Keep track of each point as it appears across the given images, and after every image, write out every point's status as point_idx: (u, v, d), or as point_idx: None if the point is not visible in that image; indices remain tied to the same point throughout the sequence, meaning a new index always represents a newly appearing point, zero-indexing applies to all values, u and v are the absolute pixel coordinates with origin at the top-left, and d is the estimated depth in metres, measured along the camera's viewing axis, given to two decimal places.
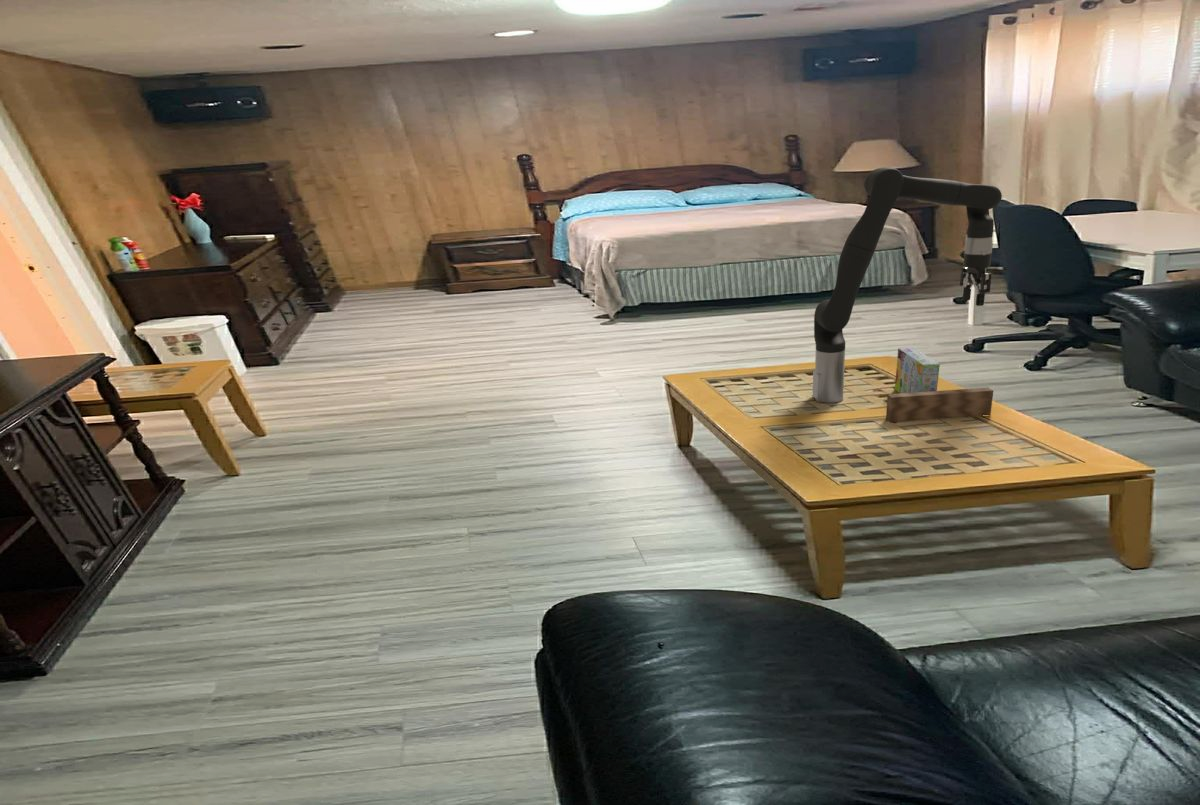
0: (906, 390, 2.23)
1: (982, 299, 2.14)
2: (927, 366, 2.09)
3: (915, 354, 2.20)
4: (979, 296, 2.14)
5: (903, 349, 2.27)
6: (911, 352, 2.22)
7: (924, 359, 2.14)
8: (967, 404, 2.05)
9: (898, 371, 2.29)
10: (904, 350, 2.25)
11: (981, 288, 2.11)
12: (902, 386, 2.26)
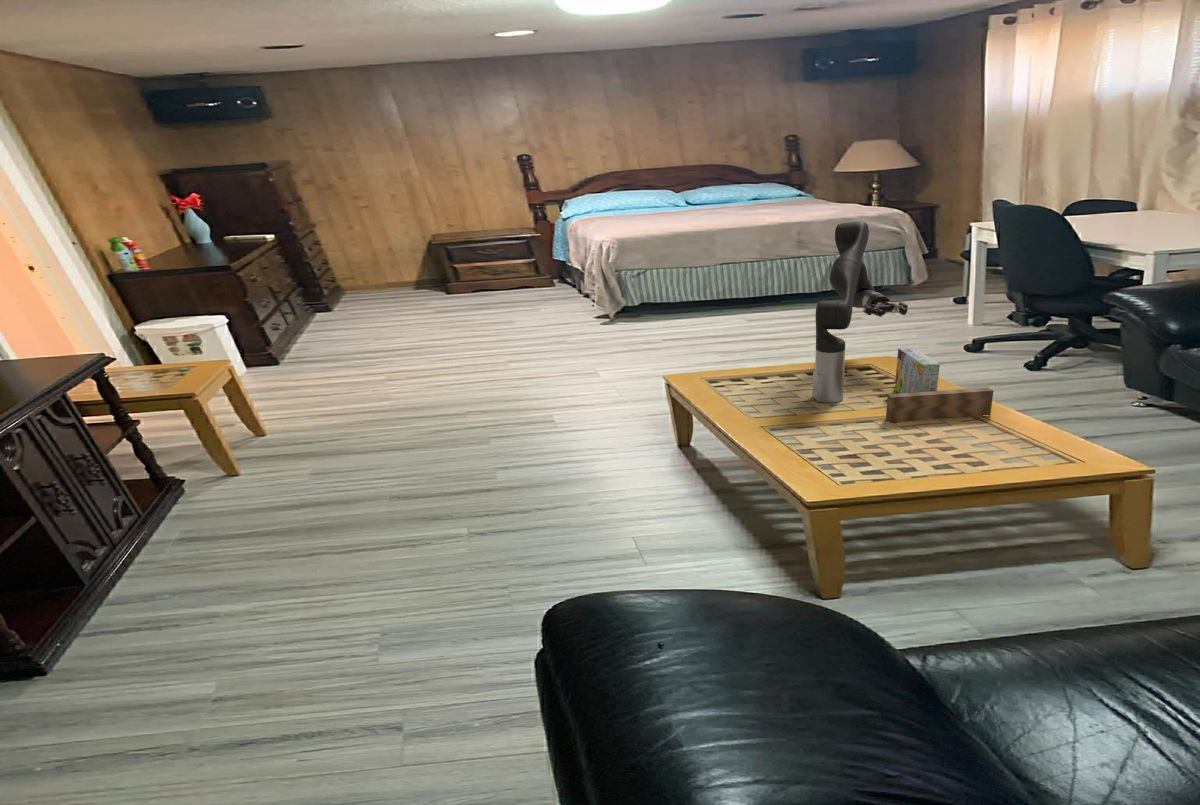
0: (906, 390, 2.23)
1: None
2: (927, 366, 2.09)
3: (915, 354, 2.20)
4: (903, 308, 2.39)
5: (903, 349, 2.27)
6: (911, 352, 2.22)
7: (924, 359, 2.14)
8: (967, 404, 2.05)
9: (898, 371, 2.29)
10: (904, 350, 2.25)
11: (905, 304, 2.41)
12: (902, 386, 2.26)
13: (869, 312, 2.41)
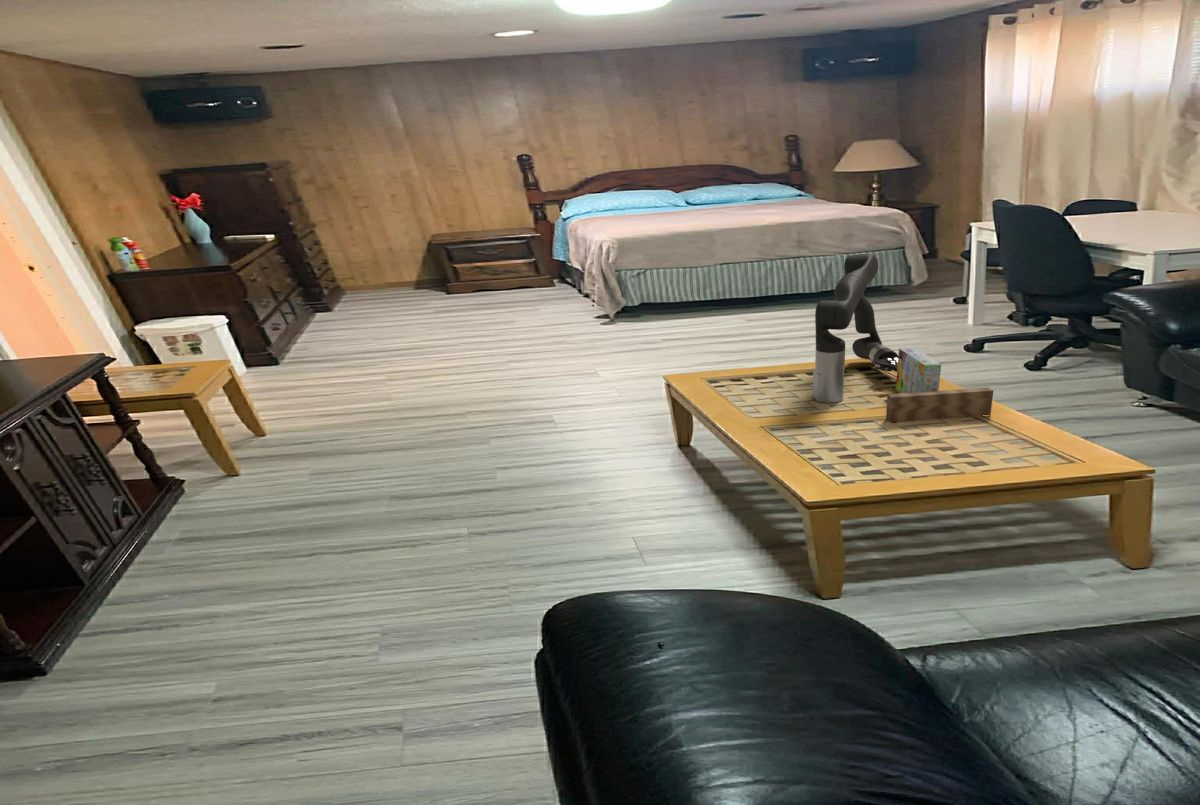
0: (907, 390, 2.22)
1: None
2: (929, 366, 2.09)
3: (916, 354, 2.19)
4: None
5: (904, 349, 2.26)
6: (912, 352, 2.22)
7: (925, 359, 2.13)
8: (967, 404, 2.05)
9: (899, 371, 2.28)
10: (905, 350, 2.25)
11: None
12: (903, 386, 2.25)
13: (890, 368, 2.35)
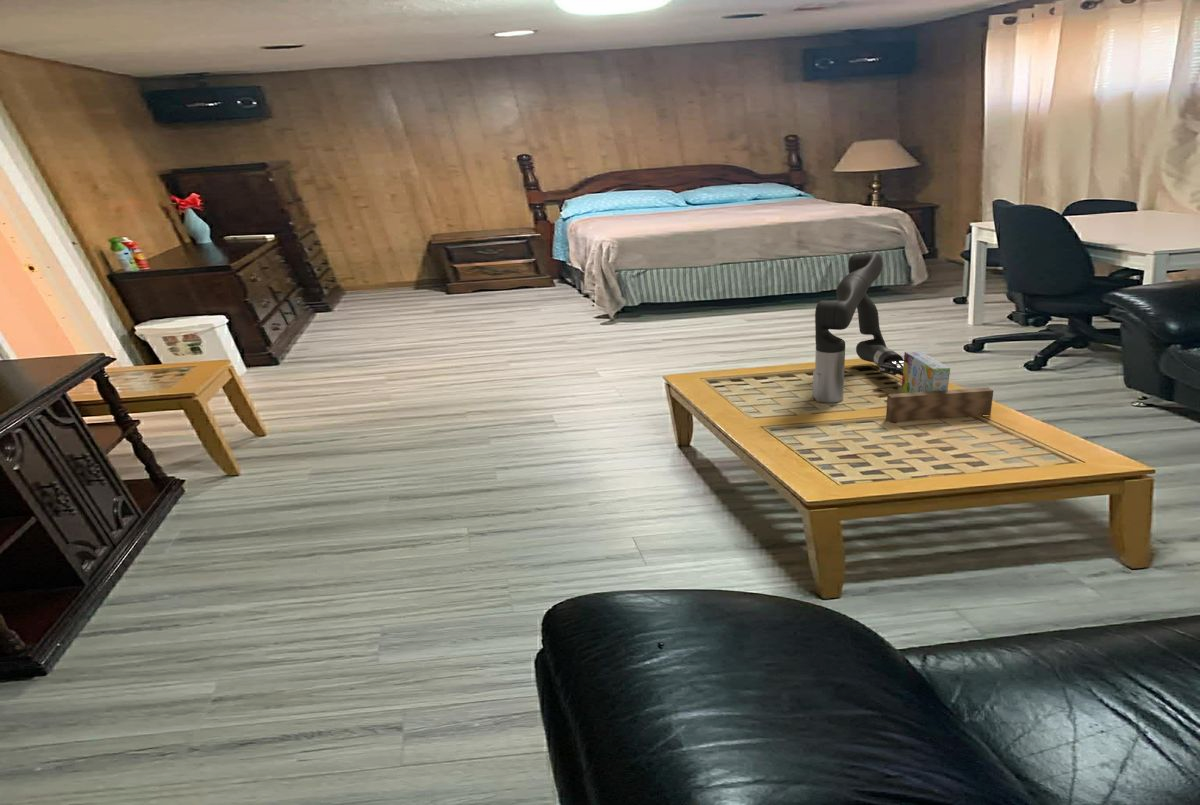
0: None
1: None
2: (937, 370, 2.05)
3: (923, 358, 2.15)
4: None
5: (910, 353, 2.22)
6: (919, 356, 2.18)
7: (933, 363, 2.09)
8: (967, 404, 2.05)
9: (905, 375, 2.24)
10: (912, 354, 2.21)
11: None
12: (909, 390, 2.21)
13: (895, 372, 2.32)
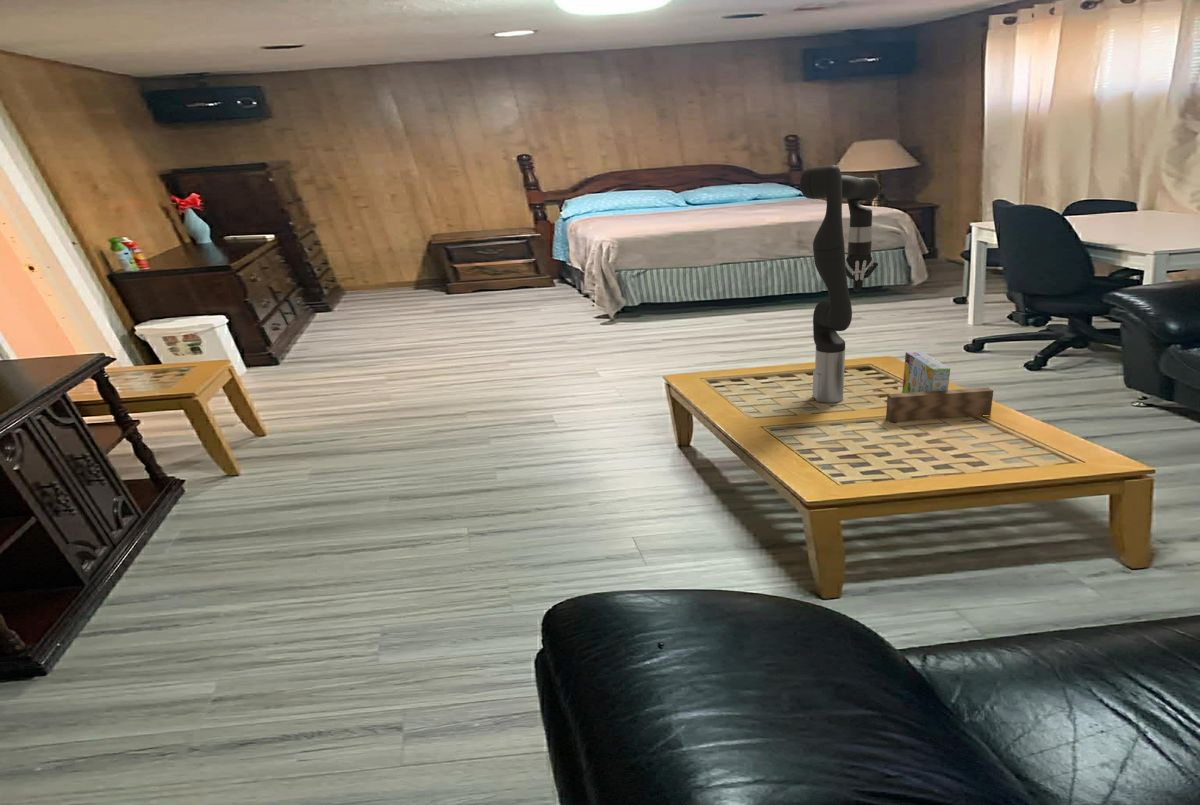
0: None
1: None
2: (937, 370, 2.05)
3: (924, 358, 2.15)
4: (861, 281, 2.37)
5: (911, 353, 2.22)
6: (919, 356, 2.18)
7: (934, 363, 2.09)
8: (967, 404, 2.05)
9: (906, 375, 2.24)
10: (912, 354, 2.21)
11: (868, 274, 2.35)
12: (910, 391, 2.21)
13: None
